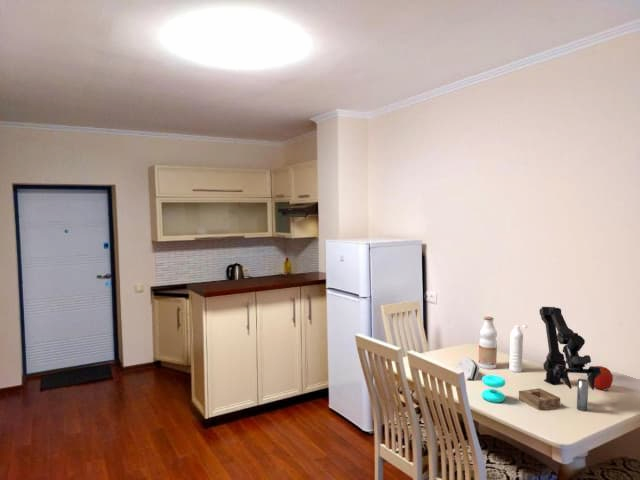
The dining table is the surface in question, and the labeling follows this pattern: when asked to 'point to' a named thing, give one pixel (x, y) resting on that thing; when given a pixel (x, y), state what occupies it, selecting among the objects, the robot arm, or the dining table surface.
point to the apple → (603, 379)
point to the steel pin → (582, 395)
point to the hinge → (468, 368)
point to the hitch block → (539, 399)
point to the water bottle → (516, 349)
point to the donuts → (491, 393)
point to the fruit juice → (488, 345)
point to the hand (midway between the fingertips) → (582, 389)
